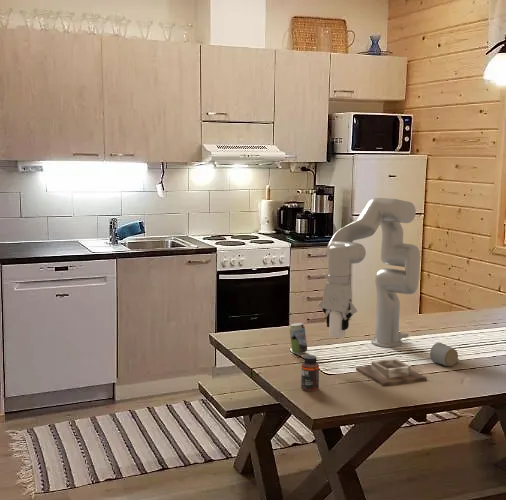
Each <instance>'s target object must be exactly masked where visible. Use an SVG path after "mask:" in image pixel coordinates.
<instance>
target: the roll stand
mask: <svg viewBox="0 0 506 500" xmlns="http://www.w3.org/2000/svg"><path fill="white" fill-rule="evenodd" d="M355 370H356V371H357V372H358V373H360V374H362V375H363V376H365V377H367V378H368V379H371V380H372V381H373V382H375V383H378V385H380V386H384V387H385V386H391V385H392V386H393V385H400V384H406V383H407V384H408V383H414V382H420V381H427V376H425V375H424V374H422V373H419V372H417V371H415V370H414V369H412V368H411V366H410V365H409V364H406V363H404V362H402V361H401V360H399V359H397V358H388V359H380V360H373V361H371V365H363V366H356V367H355Z"/></svg>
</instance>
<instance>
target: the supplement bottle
mask: <svg viewBox="0 0 506 500" xmlns="http://www.w3.org/2000/svg"><path fill="white" fill-rule="evenodd" d="M303 360H304V361H303V362H302V363H301V368H300V369H301V370H300V371H301V372H300V373H301V375H300V377H301V379H300V380H301V381H300V382H301V383H300V384H301V385H300V388H301V390H303V391H304V392H305V391H306V392H315V391H317V390H319V387H320V386H319V385H320V384H319V382H320V364H319V362H317V356H316V355H314V354H313V355H312V354H307V355H305V356H304V359H303Z"/></svg>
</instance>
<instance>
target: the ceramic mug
mask: <svg viewBox="0 0 506 500" xmlns="http://www.w3.org/2000/svg"><path fill="white" fill-rule="evenodd" d="M458 353H459V352H458V351H457V350H456V348H454V347H451V346H449V345H447V344H444V343H442V342H436V343H434V344H433V345H432V347H431V348H430V352H429V356H430V360H431V361H432V362H434V363H436V364H439V365H442V366H445V367H452V366H455V364H456V363H457V364H458V363H460V358H459V354H458Z"/></svg>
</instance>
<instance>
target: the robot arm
mask: <svg viewBox="0 0 506 500" xmlns="http://www.w3.org/2000/svg"><path fill="white" fill-rule="evenodd" d="M416 213H417V210H416V206H415V204H414V203H413V202H411V201H408V200H407V201H406V200H403V199H398V198H386V197H373V198H371V199H369V200H368V202H367V203H366V205H365V206H364V207H363V209H362V210H361V212H360V214H359V215H358V217H357V218H356V219H355V221H352V222H350V223H349V224H347V225H345V226H343V227H340V228H339V229H338V230H337V231H336V232H335V233H334V234H333V236H332V237H331V239H330V241H329V242H328V244H327V247H326V256H327V257H328V258H327V259H328V260H327V261H328V262H327V265H328V266H327V269H328V270H327V274H325V275H324V277H325V279H327V281H326V282H325V285H324V289H323V294H322V295H323V296H322V297H323V298H322V301H321V302H320V303H319V307H320V308H321V310H322V312H323V313H324V315H325V317H326V327H327V328H329V317H330V312H331V310H332V311H337V312H342V314H343V318H344V319H343V320H342V330H345V331H346V330H348V328H349V325H350V324H349V323H350V322H349V321H350V318H351V317H353V315H355V314H356V313H357V312H358V310H357V308H356V307H355V306H354V304H353V293H352V286H351V283H350V265H352V264H359V263H361V262H362V261H364V259H365V258H366V254H367V253H366V248H365V247H364V245H363V244H362V243H358V242H353V241H357V240H362V239H367V238H369V237H372V236H373V235H375V234H376V232H377V230H378V229H379V227H381V248H380V259H381V262H382V264H385V265H387V266H394V267H399V268H404V269H397V268H389V267H386V268H381V269H379V270H378V271H377V272H376V273H375V278H374V279H375V280H374V284H375V288H376V312H375V331H374V333H375V335H374V336H375V337H372V338H371V339H370V341H371V342H370V343H372V344H373V345H375V346H378V347H382V348H397V347H400V346H402V345H403V341H402V339H407V338H409V333H407V332H404V333H402V332H399V331H400V309H401V300H400V298H399V296H398V294H401V295H402V294H403V295H414V294H415V293H416V292H417V290H418V287H419V280H420V266H421V252H420V251H421V250H420V248H419V247H418V246H417V245H415V244H411V243H404V228H403V226H402V225H401V223H402V224H409V223H411V222H413V221H414V220H415V217H416Z"/></svg>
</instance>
